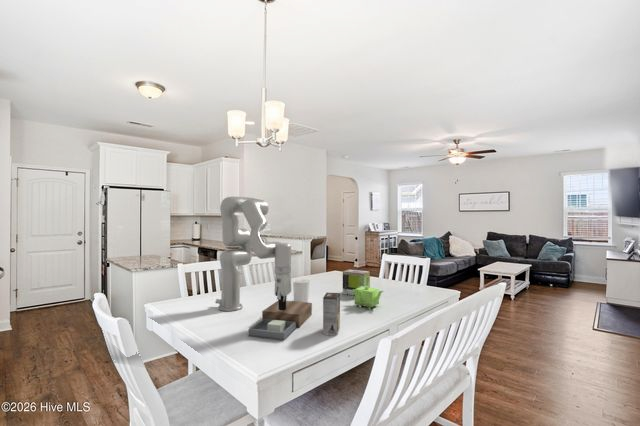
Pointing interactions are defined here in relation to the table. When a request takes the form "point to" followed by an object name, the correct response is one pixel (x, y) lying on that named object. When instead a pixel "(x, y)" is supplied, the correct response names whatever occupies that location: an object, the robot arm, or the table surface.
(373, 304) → the kettle
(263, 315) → the brown slab
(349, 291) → the tea box
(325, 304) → the coffee box
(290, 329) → the bin
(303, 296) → the candle holder
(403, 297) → the table surface
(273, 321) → the tile
